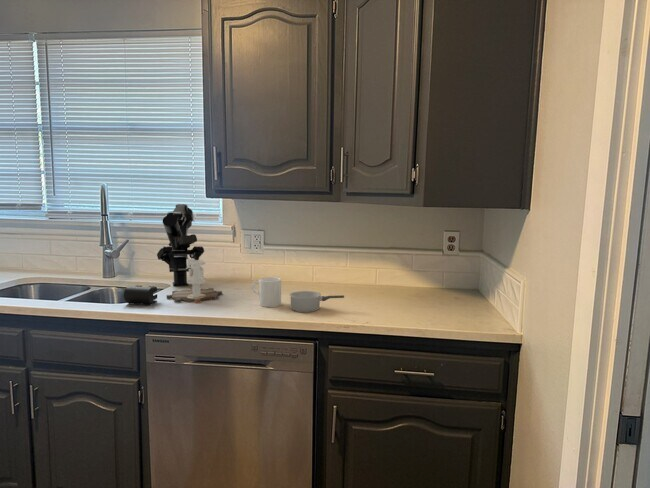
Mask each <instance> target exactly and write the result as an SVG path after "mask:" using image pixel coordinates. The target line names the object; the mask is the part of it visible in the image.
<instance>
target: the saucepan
mask: <svg viewBox="0 0 650 488" xmlns="http://www.w3.org/2000/svg"><path fill="white" fill-rule="evenodd" d="M289 296H290V308H291V309H292V310H294V311H295V312H299V313H311V312H315V311H317V310H319V309H320V303H321V302H325V301H328V300H330V299H345V295H325V296H324V295H322V294H321V292H318V291H312V290H300V291H299V290H298V291H293V292H290V293H289Z"/></svg>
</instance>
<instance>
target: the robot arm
mask: <svg viewBox="0 0 650 488" xmlns="http://www.w3.org/2000/svg"><path fill="white" fill-rule="evenodd" d="M193 222H194V211H193V210H192V209H191V208H190V207H189V206H188V204H184V203H183V204H181V203H178V204H175V207H174V209H173V210H172V211H168V212H167V213H166V214H165V216H164V217H163V218H162V224H163V227H164V229H165V233H166V235H167V236H166V237H167V239H168V241H169V243H168V246H161V248H160V249H159V251H158V252H157V253H156V257H157V259H158V260H161V261H162V262H165V263H166V264H167V265H168V268H169V269H168V270H169V273H173V282H172V286H173V287H178V286H180V287H181V286H189V284H188V283H187V279H188V275H187V274H188V273H189V269H192V268H187V259H191V258H193V259H195V260H200V257H201V256H202V255H203V254H204V253H205V249H204V247H203V246H202V245H200V246H196V245H195V246H193V247H192V248H191V249H190V247H191V245H192V244H193V245H194V244H195V243H197V242H198V238H197V235H196V234H189V235H188V231H189V229H190V228H191V227H192V223H193ZM188 256H189V257H188ZM190 266H192V265H190ZM187 272H188V273H187Z"/></svg>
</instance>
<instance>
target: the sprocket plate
mask: <svg viewBox="0 0 650 488" xmlns="http://www.w3.org/2000/svg"><path fill="white" fill-rule="evenodd" d="M171 292H172V293H171V294H166V300H172V301H174V303H178V304H179V303H181V302H182V303H195V304H199V303H200V304H201V302H205V301H211V300H212V301H213V300H214V301H215V300H219V296H223V291H222V290H216V289H215V288H213V287H208V288H200V293H201V296H200V297H193V296H192V295H193V294H192V287H190V288H188V289H181V290H176V289H175V290H172V291H171Z"/></svg>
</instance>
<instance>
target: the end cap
mask: <svg viewBox="0 0 650 488" xmlns="http://www.w3.org/2000/svg"><path fill="white" fill-rule="evenodd" d="M157 292H158V288H157V286H155V285H153V286H152V285H149V286H142V285H134V286H133V285H131V286H130V285H129V286H126V287H125V288H124V290H123V299H124V302H126V303H127V304H130V303H134V304H133V305H146V304H147V305H151V304H152V305H154V304H156V303H158V301H157V299H158V294H154V293H157ZM130 305H131V304H130ZM147 305H146V306H147ZM152 305H151V306H152Z"/></svg>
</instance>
